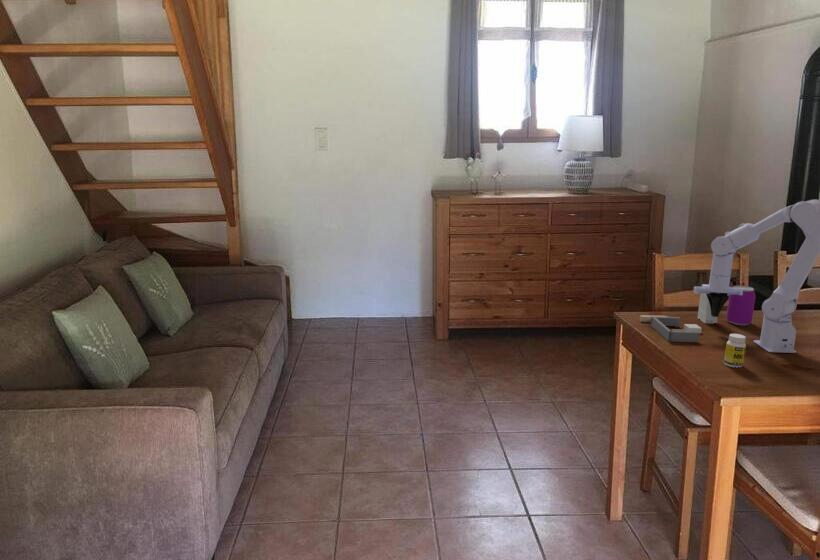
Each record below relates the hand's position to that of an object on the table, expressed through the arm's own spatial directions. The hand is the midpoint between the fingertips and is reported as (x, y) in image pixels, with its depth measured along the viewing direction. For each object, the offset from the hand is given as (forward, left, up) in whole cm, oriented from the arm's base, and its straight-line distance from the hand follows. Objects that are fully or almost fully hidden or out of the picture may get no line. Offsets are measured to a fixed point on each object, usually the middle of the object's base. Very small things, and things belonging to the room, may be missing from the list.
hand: (714, 316), depth 204 cm
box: (-3, +13, -5) cm, 15 cm away
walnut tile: (-6, +13, -6) cm, 15 cm away
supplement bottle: (-30, +7, -5) cm, 31 cm away
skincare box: (+11, -3, -5) cm, 13 cm away
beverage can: (+10, -13, -5) cm, 18 cm away
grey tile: (0, +6, -6) cm, 8 cm away
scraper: (+9, +14, -5) cm, 18 cm away
